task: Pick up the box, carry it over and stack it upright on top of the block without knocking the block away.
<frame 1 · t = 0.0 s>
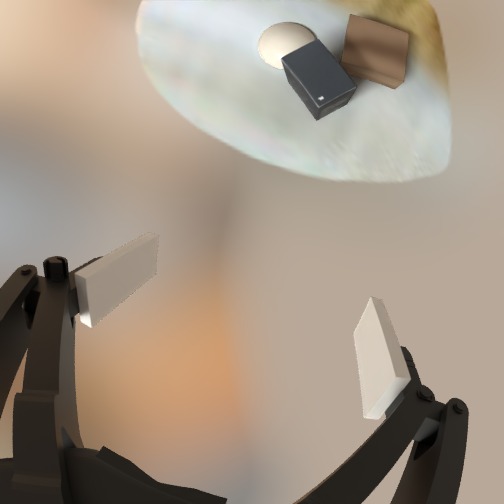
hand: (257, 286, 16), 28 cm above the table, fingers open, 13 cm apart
box: (317, 92, 35), on the table
block: (371, 56, 31), on the table
coaster: (287, 45, 33), on the table
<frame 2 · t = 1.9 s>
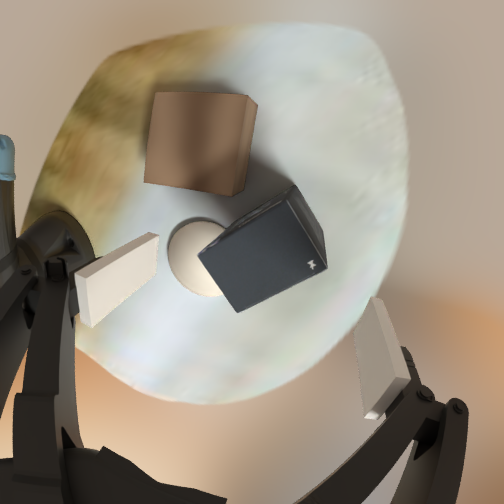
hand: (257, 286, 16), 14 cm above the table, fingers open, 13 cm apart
box: (277, 225, 29), on the table
block: (209, 141, 27), on the table
coaster: (205, 259, 31), on the table
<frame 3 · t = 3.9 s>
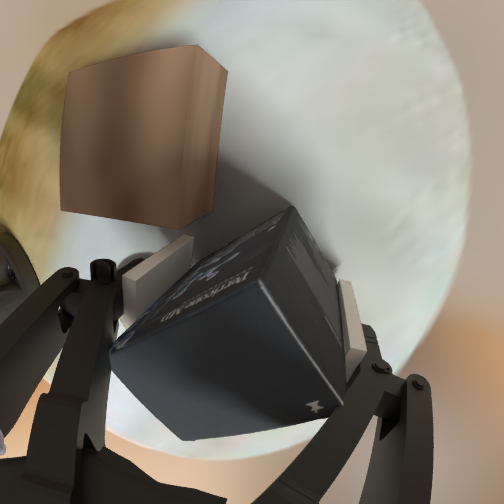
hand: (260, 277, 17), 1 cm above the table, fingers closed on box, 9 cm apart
box: (264, 269, 18), on the table, touching gripper
block: (158, 137, 16), on the table
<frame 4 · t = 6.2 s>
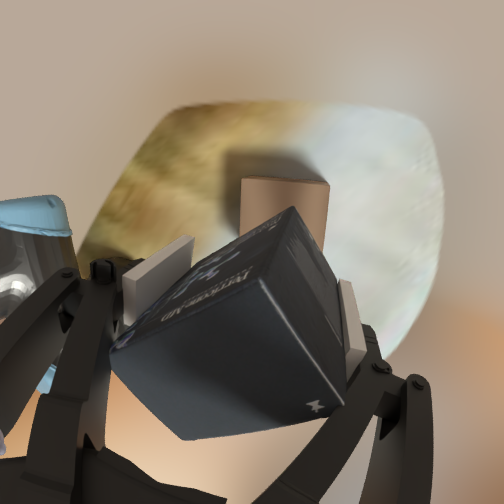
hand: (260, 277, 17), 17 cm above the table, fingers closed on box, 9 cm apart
box: (264, 269, 18), point 16 cm above the table, touching gripper
block: (286, 215, 33), on the table
when the fingers open (7 cm above the table, at t = 8.9 s): box drops 2 cm, resting on block.
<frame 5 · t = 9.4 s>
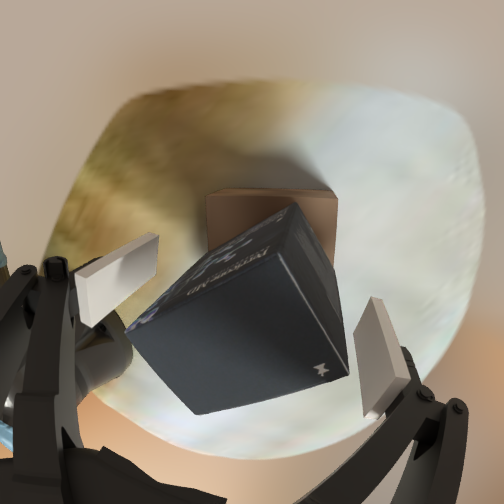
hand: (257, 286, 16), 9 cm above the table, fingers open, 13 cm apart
box: (268, 260, 20), point 5 cm above the table, touching block
block: (278, 239, 24), on the table, touching box
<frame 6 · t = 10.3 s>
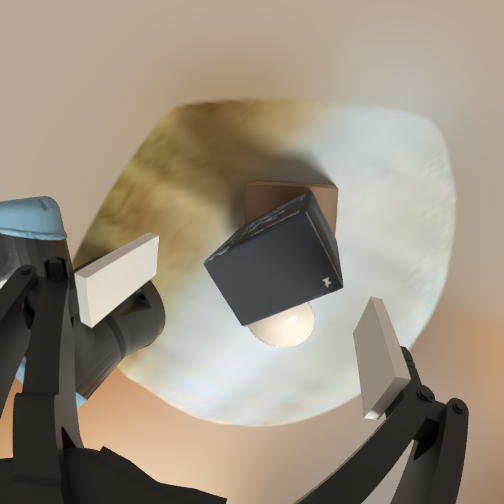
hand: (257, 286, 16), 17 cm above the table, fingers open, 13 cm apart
box: (289, 231, 27), point 4 cm above the table, touching block
block: (293, 220, 31), on the table, touching box
coaster: (280, 318, 36), on the table
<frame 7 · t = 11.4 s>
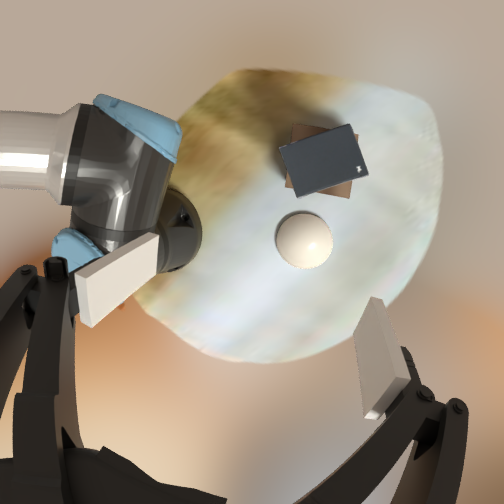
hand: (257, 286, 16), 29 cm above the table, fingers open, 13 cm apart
box: (324, 161, 35), point 5 cm above the table
block: (321, 160, 39), on the table
coaster: (304, 241, 44), on the table
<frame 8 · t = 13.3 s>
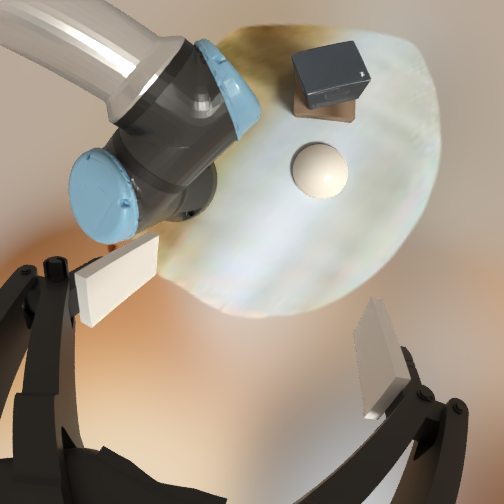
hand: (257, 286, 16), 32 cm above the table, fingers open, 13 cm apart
box: (327, 88, 34), point 5 cm above the table
block: (324, 94, 38), on the table
coaster: (320, 171, 42), on the table
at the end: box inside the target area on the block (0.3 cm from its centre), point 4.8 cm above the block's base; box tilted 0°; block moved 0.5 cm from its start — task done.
